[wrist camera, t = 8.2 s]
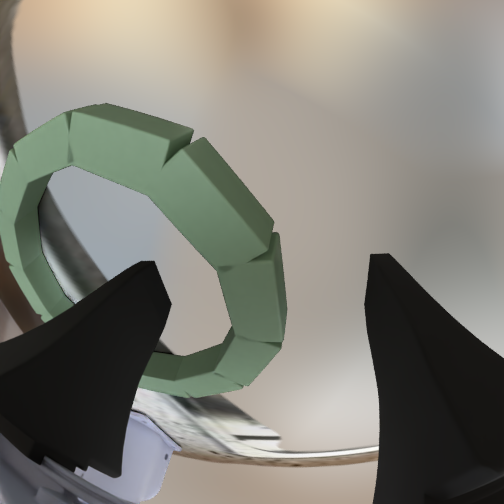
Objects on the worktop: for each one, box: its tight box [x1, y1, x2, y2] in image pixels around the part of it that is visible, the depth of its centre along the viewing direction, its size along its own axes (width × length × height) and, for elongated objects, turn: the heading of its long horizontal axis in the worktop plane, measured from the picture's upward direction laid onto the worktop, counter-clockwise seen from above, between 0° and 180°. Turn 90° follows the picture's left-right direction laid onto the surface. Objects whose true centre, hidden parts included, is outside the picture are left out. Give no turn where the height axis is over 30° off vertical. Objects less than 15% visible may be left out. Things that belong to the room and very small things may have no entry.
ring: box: [0, 103, 287, 398], centre depth 10 cm, size 13×13×2 cm
